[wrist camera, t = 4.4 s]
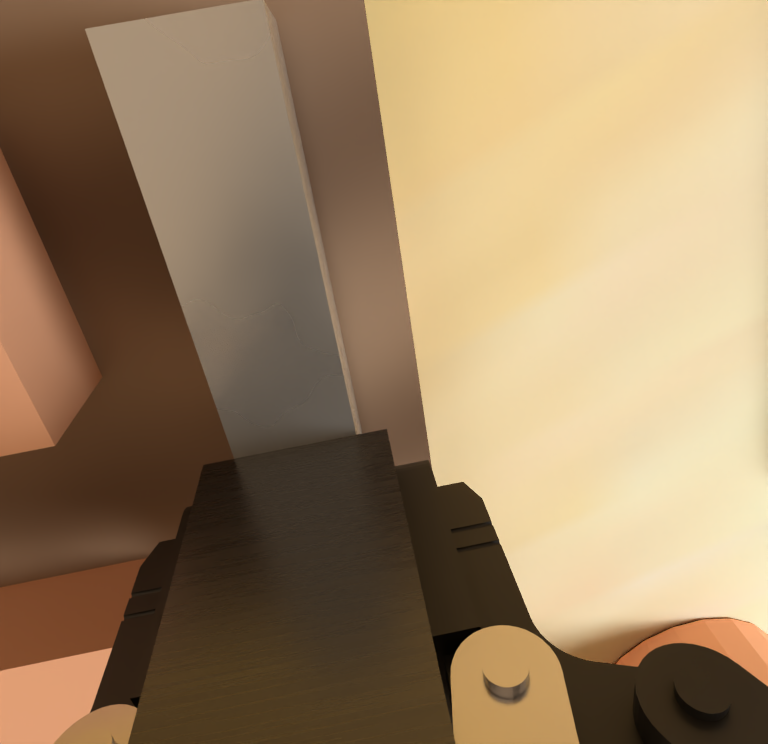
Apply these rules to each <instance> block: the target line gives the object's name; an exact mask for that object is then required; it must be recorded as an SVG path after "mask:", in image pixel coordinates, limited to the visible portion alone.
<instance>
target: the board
mask: <svg viewBox="0 0 768 744" xmlns="http://www.w3.org/2000/svg"><path fill="white" fill-rule="evenodd" d="M244 1H250V0H0V148H1V151H2V153H3V155H4V157H5V160H6V162H7V164H8V166H9V169H10V171H11V173H12V175H13V178H14V180H15V182H16V184H17V187H18V189H19V191H20V193H21V196H22V198H23V200H24V202H25V205H26V207H27V209H28V211H29V213H30V216H31V218H32V220H33V222H34V225H35V227H36V229H37V231H38V234H39V236H40V238H41V240H42V243H43V245H44V247H45V249H46V252H47V254H48V256H49V258H50V261H51V263H52V265H53V267H54V270H55V272H56V274H57V276H58V279H59V281H60V283H61V285H62V287H63V290H64V292H65V294H66V296H67V299H68V301H69V303H70V305H71V308H72V310H73V312H74V314H75V317H76V319H77V321H78V323H79V326H80V328H81V330H82V332H83V335H84V337H85V339H86V341H87V344H88V346H89V348H90V350H91V353H92V355H93V357H94V359H95V362H96V364H97V366H98V368H99V370H100V373H101V375H102V378H101V380H100V381H99V383H98V384H97V386H96V387H95V389H94V390H93V391H92V393H91V394H90V396H89V397H88V399H87V400H86V402H85V403H84V405H83V406H82V407H81V409H80V410H79V412H78V413H77V415H76V416H75V418H74V419H73V421H72V422H71V424H70V425H69V426H68V428H67V429H66V431H65V432H64V434H63V435H62V437H61V438H60V440H59V441H58V442H57V444H56V445H55V446H52V447H47V448H42V449H37V450H32V451H27V452H21V453H16V454H11V455H6V456H1V457H0V587H5V586H10V585H15V584H20V583H25V582H30V581H35V580H40V579H45V578H50V577H55V576H59V575H64V574H69V573H74V572H79V571H84V570H89V569H94V568H99V567H104V566H109V565H114V564H119V563H124V562H129V561H134V560H139V559H144V558H147V557H148V556H149V555H150V553H151V552H152V551H153V550H154V548H155V547H156V546H157V545H158V543H159V542H162V541H167V540H172V539H176V535H177V532H178V528H179V525H180V521H181V518H182V514H183V512H184V510H185V508H186V507H190V506H192V505H193V501H194V497H195V494H196V490H197V486H198V482H199V479H200V475H201V471H202V468H203V465H205V464H210V463H215V462H220V461H225V460H230V459H234V457H233V454H232V451H231V448H230V445H229V443H228V440H227V437H226V434H225V431H224V428H223V425H222V422H221V420H220V417H219V414H218V411H217V408H216V405H215V402H214V399H213V396H212V394H211V391H210V388H209V385H208V382H207V379H206V376H205V373H204V371H203V368H202V365H201V362H200V359H199V356H198V353H197V350H196V348H195V345H194V342H193V339H192V336H191V333H190V330H189V327H188V325H187V322H186V319H185V316H184V313H183V310H182V307H181V304H180V302H179V299H178V296H177V293H176V290H175V287H174V284H173V281H172V278H171V276H170V273H169V270H168V267H167V264H166V261H165V258H164V255H163V253H162V250H161V247H160V244H159V241H158V238H157V235H156V232H155V230H154V227H153V224H152V221H151V218H150V215H149V212H148V209H147V207H146V204H145V201H144V198H143V195H142V192H141V189H140V186H139V183H138V181H137V178H136V175H135V172H134V169H133V166H132V163H131V160H130V158H129V155H128V152H127V149H126V146H125V143H124V140H123V137H122V135H121V132H120V129H119V126H118V123H117V120H116V117H115V114H114V112H113V109H112V106H111V103H110V100H109V97H108V94H107V91H106V89H105V86H104V83H103V80H102V77H101V74H100V71H99V68H98V65H97V63H96V60H95V57H94V54H93V51H92V48H91V45H90V42H89V40H88V37H87V34H86V31H85V29H87V28H92V27H98V26H104V25H110V24H116V23H122V22H127V21H133V20H139V19H145V18H151V17H157V16H162V15H168V14H174V13H180V12H186V11H192V10H198V9H203V8H209V7H215V6H221V5H227V4H233V3H238V2H244ZM264 1H265V3H266V5H267V6H268V8H269V10H270V11H271V13H272V14H273V16H274V18H275V19H276V22H277V27H278V32H279V36H280V41H281V46H282V51H283V55H284V60H285V65H286V70H287V75H288V79H289V84H290V89H291V94H292V99H293V103H294V108H295V113H296V118H297V123H298V127H299V132H300V137H301V142H302V147H303V151H304V156H305V161H306V166H307V171H308V175H309V180H310V185H311V190H312V195H313V199H314V204H315V209H316V214H317V219H318V223H319V228H320V233H321V238H322V243H323V247H324V252H325V257H326V262H327V266H328V271H329V276H330V281H331V286H332V290H333V295H334V300H335V305H336V310H337V314H338V319H339V324H340V329H341V334H342V338H343V343H344V348H345V353H346V358H347V362H348V367H349V372H350V377H351V382H352V386H353V391H354V396H355V401H356V406H357V410H358V415H359V420H360V425H361V430H362V434H363V433H368V432H373V431H378V430H384V429H387V432H388V437H389V442H390V446H391V451H392V455H393V460H394V464H395V466H399V465H404V464H409V463H414V462H419V461H424V460H429V462H430V465H431V460H430V453H429V446H428V439H427V432H426V425H425V418H424V411H423V405H422V398H421V391H420V384H419V377H418V370H417V363H416V356H415V349H414V342H413V335H412V329H411V322H410V315H409V308H408V301H407V294H406V287H405V280H404V273H403V266H402V260H401V253H400V246H399V239H398V232H397V225H396V218H395V211H394V204H393V197H392V191H391V184H390V177H389V170H388V163H387V156H386V149H385V142H384V135H383V128H382V122H381V115H380V108H379V101H378V94H377V87H376V80H375V73H374V66H373V59H372V52H371V46H370V39H369V32H368V25H367V18H366V11H365V4H364V0H264ZM431 468H432V467H431Z"/></svg>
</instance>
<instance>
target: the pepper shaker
mask: <svg viewBox="0 0 768 744" xmlns="http://www.w3.org/2000/svg"><path fill="white" fill-rule="evenodd" d="M672 643H688V644H696V645H700V646H704V647H707V648H710V649H712V650H715V651H717V652H719V653H721V654H723V655H725V656H727V657H728V658H730V659H731V660H733V661H734V662H736V663H737V664H739V665H740V666H741V667H743V668H744V669H745V670H747V671H748V672H749V673H751V674H752V675H753V676H755V677H756V678H757V679H759V680H760V681H761V682H763V683H764V684H765V685H767V686H768V634H766V633H765V632H763V631H762V630H761V629H759V628H758V627H757V626H755V625H754V624H752V623H748V622H743V621H739V620H735V619H731V618H729V619H705V620H699V621H695V622H691V623H688V624H684V625H680V626H676V627H672V628H670V629H668V630H666V631H664V632H662V633H660V634H658V635H655V636H653V637H651V638H649V639H647V640H645V641H643V642H642V643H641V644H639V645H638V646H636V647H635V648H634V649H632V650H631V651H630V652H628V653H627V654H626V655H624V656H623V657H622V658H620V660H619V661H618V662H617V663H616V664H617V665H626V666H635V667H638V666H639V664H640V662H641V661H642V659H643V658H644V657H645V656H646V655H647V654H648V653H649V652H651V651H652V650H654V649H655V648H658V647H660V646H663V645H667V644H672Z"/></svg>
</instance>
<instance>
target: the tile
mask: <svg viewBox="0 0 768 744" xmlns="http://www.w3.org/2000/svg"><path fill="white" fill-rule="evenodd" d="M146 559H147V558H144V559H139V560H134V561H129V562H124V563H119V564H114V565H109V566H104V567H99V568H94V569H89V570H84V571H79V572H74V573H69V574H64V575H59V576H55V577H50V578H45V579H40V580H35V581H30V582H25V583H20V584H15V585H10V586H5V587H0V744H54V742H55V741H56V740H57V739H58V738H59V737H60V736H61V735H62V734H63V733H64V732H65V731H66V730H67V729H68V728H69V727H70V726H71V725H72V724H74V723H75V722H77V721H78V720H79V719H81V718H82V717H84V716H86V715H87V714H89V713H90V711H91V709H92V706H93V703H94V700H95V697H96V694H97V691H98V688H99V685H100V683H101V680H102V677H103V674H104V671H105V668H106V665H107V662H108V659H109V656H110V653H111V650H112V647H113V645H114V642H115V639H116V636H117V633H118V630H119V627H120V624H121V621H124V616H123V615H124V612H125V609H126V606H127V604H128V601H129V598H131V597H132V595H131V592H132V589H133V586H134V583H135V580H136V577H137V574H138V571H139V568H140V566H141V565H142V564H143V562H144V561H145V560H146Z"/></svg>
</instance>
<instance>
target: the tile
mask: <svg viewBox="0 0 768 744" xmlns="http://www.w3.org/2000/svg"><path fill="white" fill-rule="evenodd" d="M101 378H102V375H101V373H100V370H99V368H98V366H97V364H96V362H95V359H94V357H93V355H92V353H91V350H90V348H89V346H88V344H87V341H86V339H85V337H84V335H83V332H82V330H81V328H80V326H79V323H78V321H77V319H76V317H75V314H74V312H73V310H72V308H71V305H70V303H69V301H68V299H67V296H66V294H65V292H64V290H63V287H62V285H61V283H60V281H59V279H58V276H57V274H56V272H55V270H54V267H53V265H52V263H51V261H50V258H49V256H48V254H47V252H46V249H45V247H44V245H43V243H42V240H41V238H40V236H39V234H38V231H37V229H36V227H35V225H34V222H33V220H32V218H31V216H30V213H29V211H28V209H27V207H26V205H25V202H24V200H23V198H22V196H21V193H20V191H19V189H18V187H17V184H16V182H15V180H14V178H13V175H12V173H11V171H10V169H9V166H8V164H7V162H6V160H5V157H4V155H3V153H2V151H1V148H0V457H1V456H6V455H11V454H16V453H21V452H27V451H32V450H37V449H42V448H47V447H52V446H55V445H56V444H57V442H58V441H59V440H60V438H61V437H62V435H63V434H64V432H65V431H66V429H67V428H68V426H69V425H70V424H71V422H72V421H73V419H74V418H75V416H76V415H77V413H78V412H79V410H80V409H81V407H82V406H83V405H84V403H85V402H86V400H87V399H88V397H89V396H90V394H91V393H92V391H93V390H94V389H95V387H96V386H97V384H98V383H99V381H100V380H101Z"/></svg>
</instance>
